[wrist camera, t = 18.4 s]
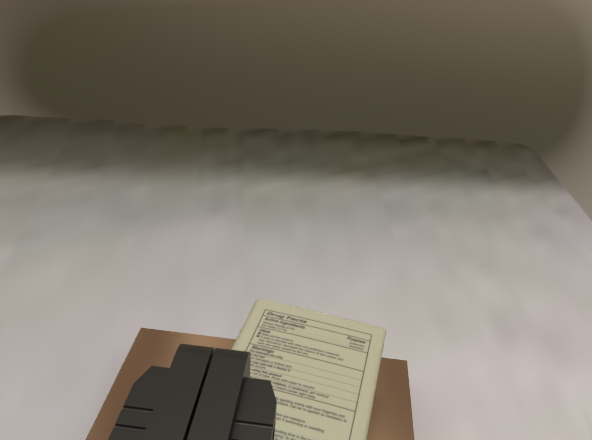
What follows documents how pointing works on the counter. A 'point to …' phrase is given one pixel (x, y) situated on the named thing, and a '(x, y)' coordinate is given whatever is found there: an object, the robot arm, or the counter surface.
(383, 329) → the skincare box
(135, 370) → the walnut board
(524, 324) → the counter surface
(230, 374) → the robot arm
